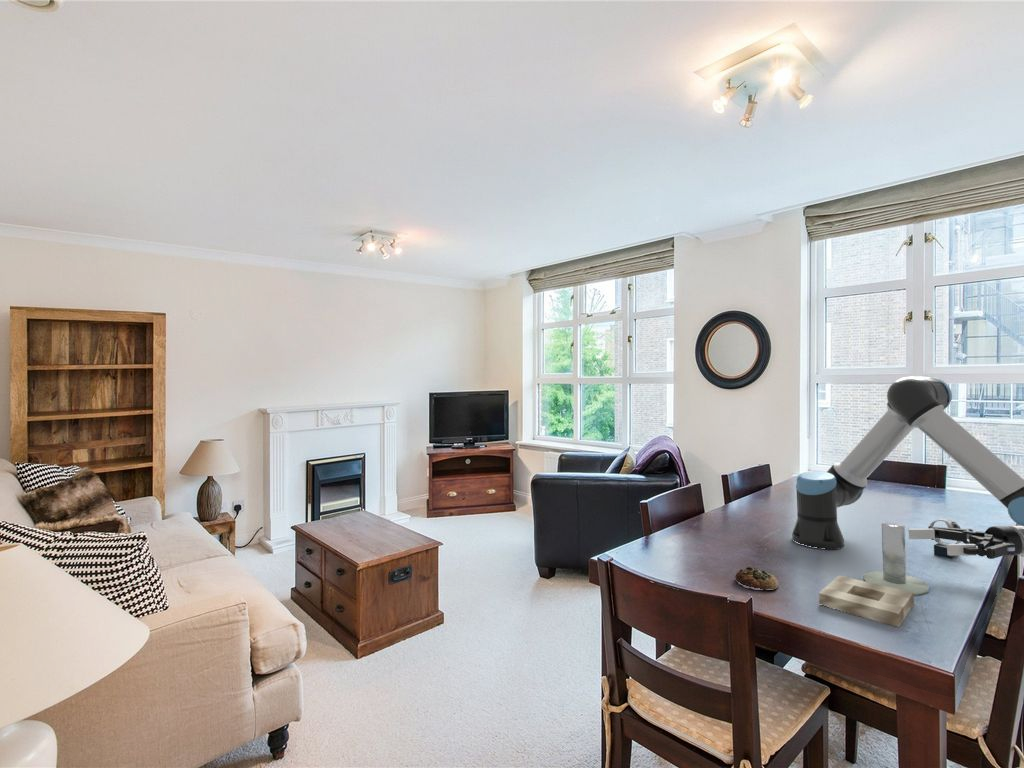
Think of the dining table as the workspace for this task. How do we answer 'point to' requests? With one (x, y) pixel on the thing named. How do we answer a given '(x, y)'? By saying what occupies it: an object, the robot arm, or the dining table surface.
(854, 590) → the holder block
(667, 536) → the dining table surface
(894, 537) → the canister
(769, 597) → the dining table surface
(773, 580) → the bread roll
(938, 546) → the watch
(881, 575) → the coaster
